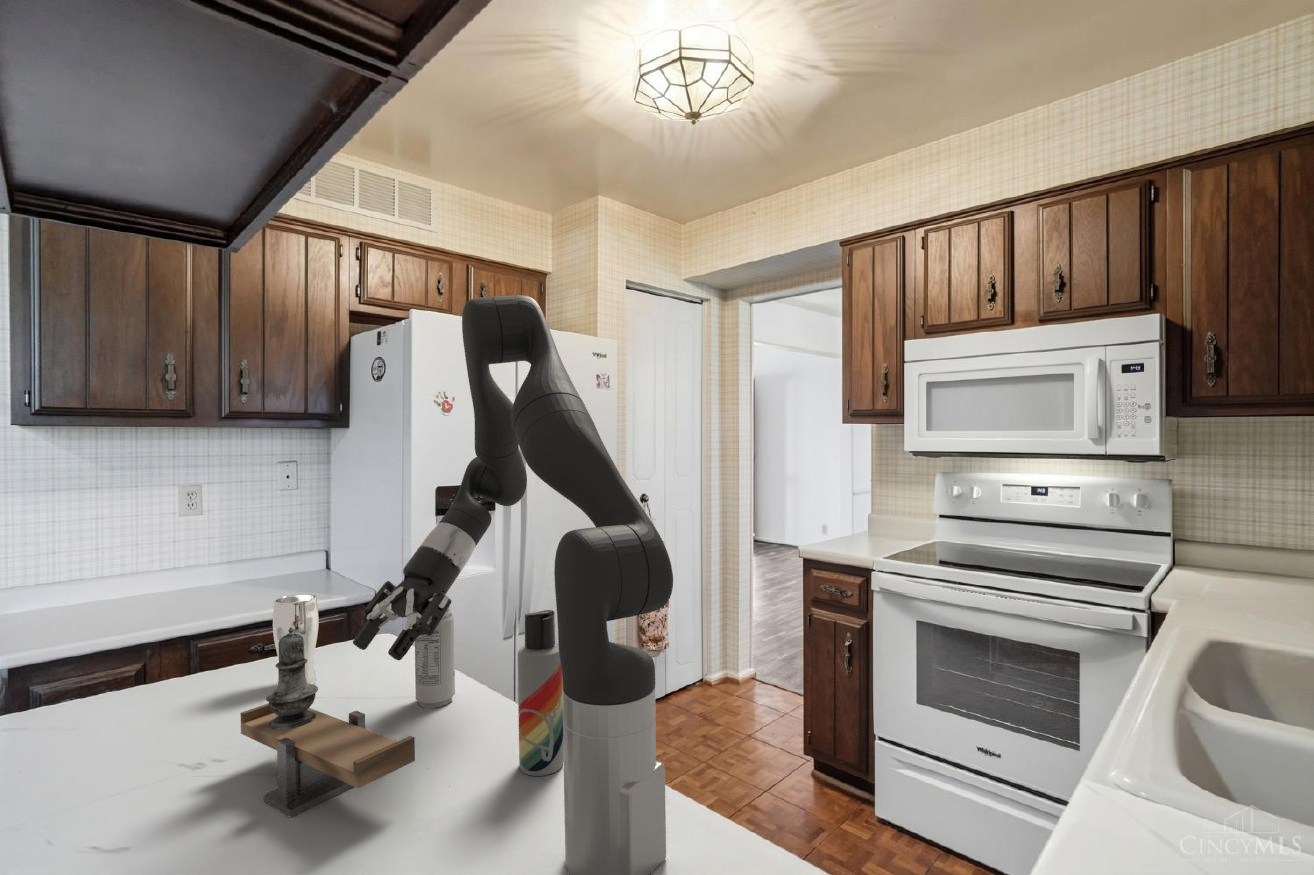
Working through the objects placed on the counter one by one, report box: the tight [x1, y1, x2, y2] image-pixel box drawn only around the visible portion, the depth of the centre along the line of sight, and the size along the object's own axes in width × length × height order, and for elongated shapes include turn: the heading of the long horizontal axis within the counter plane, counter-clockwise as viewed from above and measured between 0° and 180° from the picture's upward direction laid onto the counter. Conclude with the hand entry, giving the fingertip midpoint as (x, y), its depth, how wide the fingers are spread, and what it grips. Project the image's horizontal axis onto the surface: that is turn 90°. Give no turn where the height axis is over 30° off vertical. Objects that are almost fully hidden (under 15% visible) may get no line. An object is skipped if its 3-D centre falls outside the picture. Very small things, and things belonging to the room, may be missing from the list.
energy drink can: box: [414, 606, 456, 708], centre depth 104 cm, size 6×6×15 cm
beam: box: [240, 702, 416, 789], centre depth 79 cm, size 26×7×3 cm, turn 57°
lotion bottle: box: [517, 609, 564, 777], centre depth 83 cm, size 6×6×20 cm
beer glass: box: [272, 593, 320, 687], centre depth 113 cm, size 7×7×15 cm
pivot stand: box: [263, 710, 366, 818], centre depth 79 cm, size 6×11×7 cm, turn 147°
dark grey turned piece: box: [265, 627, 319, 730], centre depth 83 cm, size 6×6×12 cm
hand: (375, 652), depth 92 cm, fingers open, 8 cm apart
